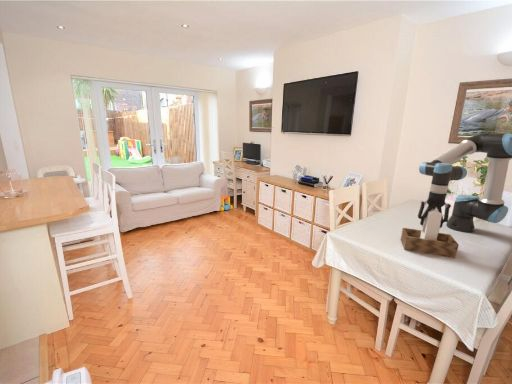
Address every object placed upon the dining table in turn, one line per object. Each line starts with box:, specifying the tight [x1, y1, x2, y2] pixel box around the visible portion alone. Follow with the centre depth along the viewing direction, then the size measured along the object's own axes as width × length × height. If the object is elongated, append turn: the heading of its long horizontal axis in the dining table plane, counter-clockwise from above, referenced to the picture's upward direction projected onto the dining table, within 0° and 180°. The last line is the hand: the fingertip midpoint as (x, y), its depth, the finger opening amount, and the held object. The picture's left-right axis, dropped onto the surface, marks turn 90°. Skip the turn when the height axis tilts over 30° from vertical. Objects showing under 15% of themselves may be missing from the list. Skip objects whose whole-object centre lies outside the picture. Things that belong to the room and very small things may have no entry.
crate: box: [400, 227, 460, 259], centre depth 144 cm, size 24×14×8 cm, turn 68°
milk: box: [420, 207, 443, 241], centre depth 141 cm, size 6×6×22 cm
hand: (429, 231), depth 142 cm, fingers closed on milk, 6 cm apart
